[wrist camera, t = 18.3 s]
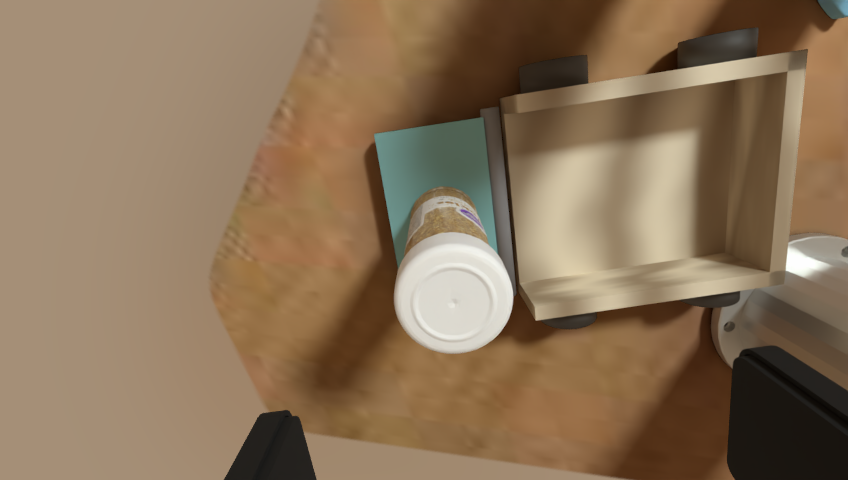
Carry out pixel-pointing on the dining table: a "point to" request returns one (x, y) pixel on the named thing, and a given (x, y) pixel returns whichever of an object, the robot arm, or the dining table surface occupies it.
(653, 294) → the cargo bed
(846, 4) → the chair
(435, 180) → the tailgate
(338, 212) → the dining table surface
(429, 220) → the sprinkles bottle
